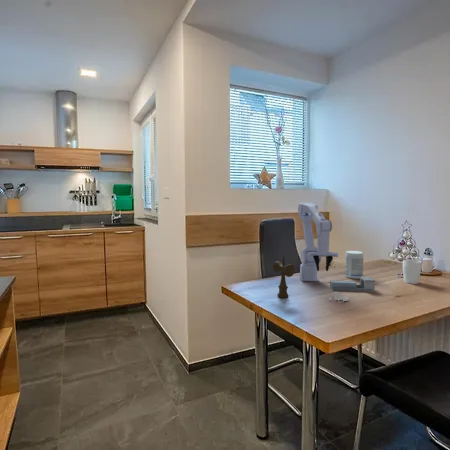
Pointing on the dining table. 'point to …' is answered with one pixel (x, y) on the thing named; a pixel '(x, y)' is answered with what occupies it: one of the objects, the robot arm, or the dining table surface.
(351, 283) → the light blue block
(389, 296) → the dining table surface
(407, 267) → the cup
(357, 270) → the supplement tub
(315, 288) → the dining table surface
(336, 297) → the teacup and saucer
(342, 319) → the dining table surface
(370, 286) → the track
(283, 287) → the kendama
